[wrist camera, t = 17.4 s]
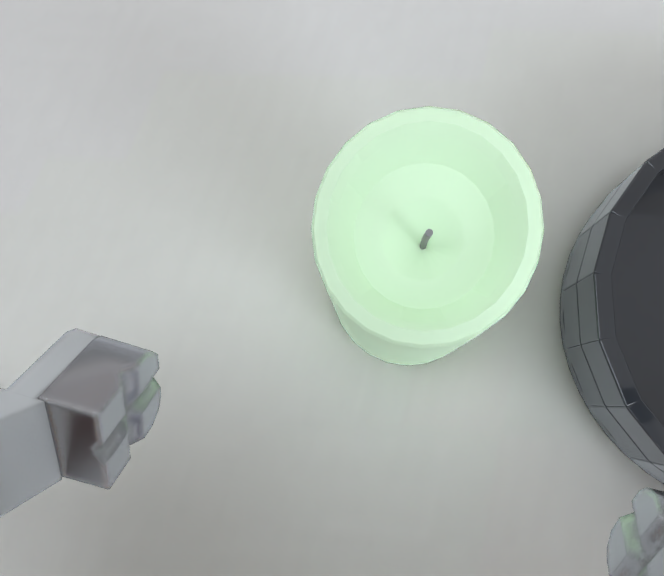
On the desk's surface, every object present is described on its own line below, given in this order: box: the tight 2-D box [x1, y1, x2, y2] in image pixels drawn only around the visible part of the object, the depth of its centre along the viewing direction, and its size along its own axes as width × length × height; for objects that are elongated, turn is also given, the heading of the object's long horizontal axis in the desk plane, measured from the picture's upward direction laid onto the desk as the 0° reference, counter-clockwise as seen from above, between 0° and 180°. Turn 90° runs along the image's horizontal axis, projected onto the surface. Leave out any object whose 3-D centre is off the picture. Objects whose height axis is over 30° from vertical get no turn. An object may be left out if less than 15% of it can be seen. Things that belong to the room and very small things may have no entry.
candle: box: [311, 106, 544, 366], centre depth 16 cm, size 5×5×8 cm
